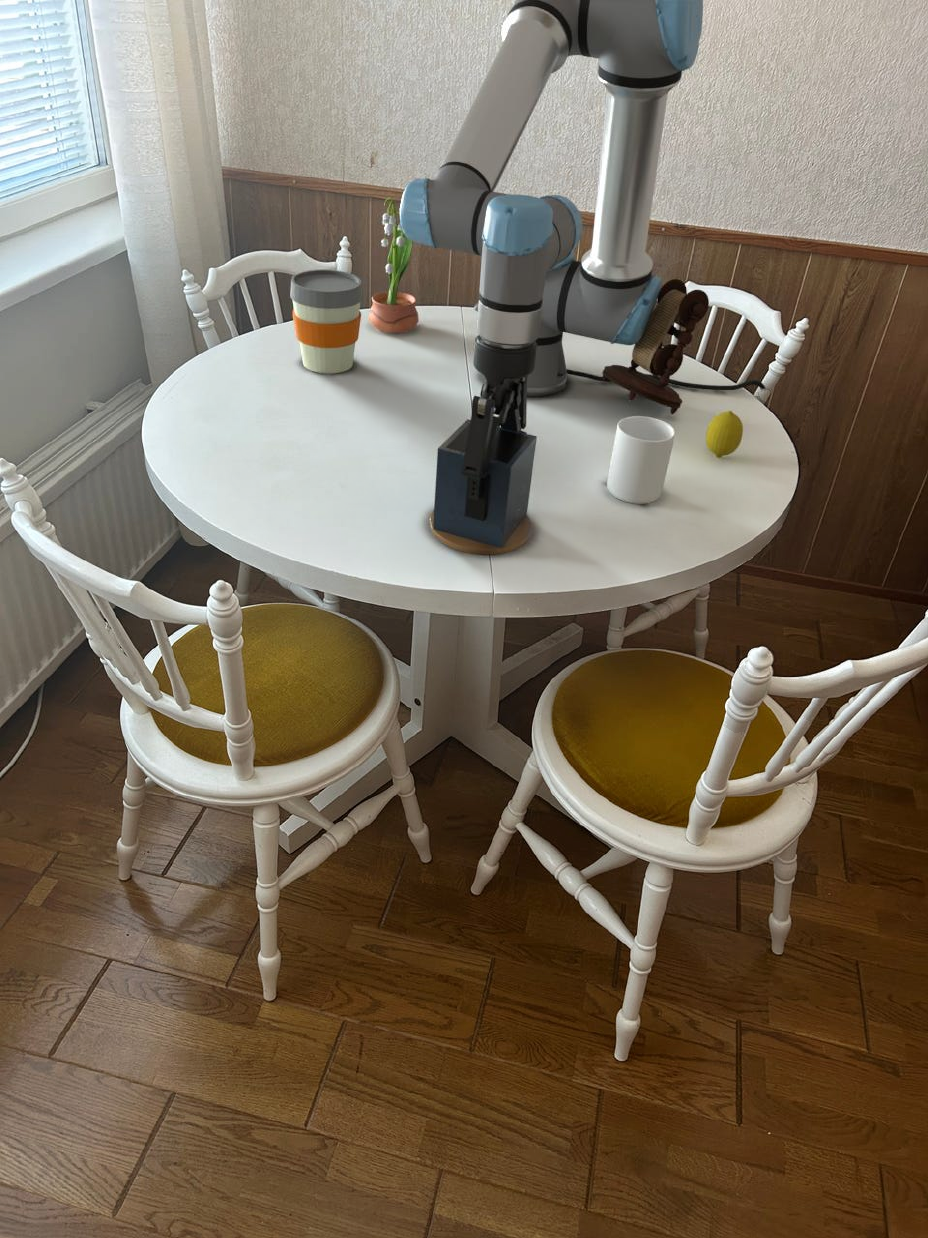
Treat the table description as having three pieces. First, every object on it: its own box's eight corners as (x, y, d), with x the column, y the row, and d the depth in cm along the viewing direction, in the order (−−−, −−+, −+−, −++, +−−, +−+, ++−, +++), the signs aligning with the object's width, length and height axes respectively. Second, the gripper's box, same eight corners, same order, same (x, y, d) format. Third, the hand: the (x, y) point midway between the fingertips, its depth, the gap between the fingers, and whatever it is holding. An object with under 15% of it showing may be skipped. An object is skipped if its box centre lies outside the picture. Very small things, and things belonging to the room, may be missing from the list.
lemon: (737, 453, 151) (749, 408, 146) (733, 468, 147) (746, 421, 142) (703, 446, 152) (714, 401, 147) (698, 460, 148) (710, 414, 143)
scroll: (584, 372, 163) (634, 259, 154) (647, 393, 170) (698, 287, 162) (625, 402, 151) (682, 282, 143) (691, 423, 159) (748, 310, 151)
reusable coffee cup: (278, 364, 166) (274, 280, 157) (322, 345, 175) (320, 264, 166) (333, 383, 161) (332, 297, 152) (376, 362, 170) (377, 280, 161)
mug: (588, 468, 143) (598, 406, 137) (637, 464, 145) (649, 403, 139) (619, 507, 134) (631, 443, 128) (670, 503, 136) (685, 439, 130)
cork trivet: (510, 496, 134) (511, 491, 134) (545, 548, 124) (546, 543, 123) (418, 505, 130) (418, 500, 130) (446, 559, 120) (446, 554, 119)
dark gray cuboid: (437, 448, 117) (511, 467, 114) (467, 418, 124) (537, 435, 122) (432, 528, 124) (501, 548, 122) (461, 496, 132) (526, 514, 129)
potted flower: (409, 342, 179) (413, 205, 164) (359, 335, 181) (359, 198, 165) (423, 322, 189) (429, 191, 174) (376, 315, 190) (377, 184, 175)
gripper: (509, 304, 120) (494, 458, 134) (440, 361, 103) (430, 531, 117) (564, 316, 118) (543, 471, 132) (502, 376, 101) (485, 546, 115)
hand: (490, 499), depth 124 cm, fingers closed on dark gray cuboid, 10 cm apart
